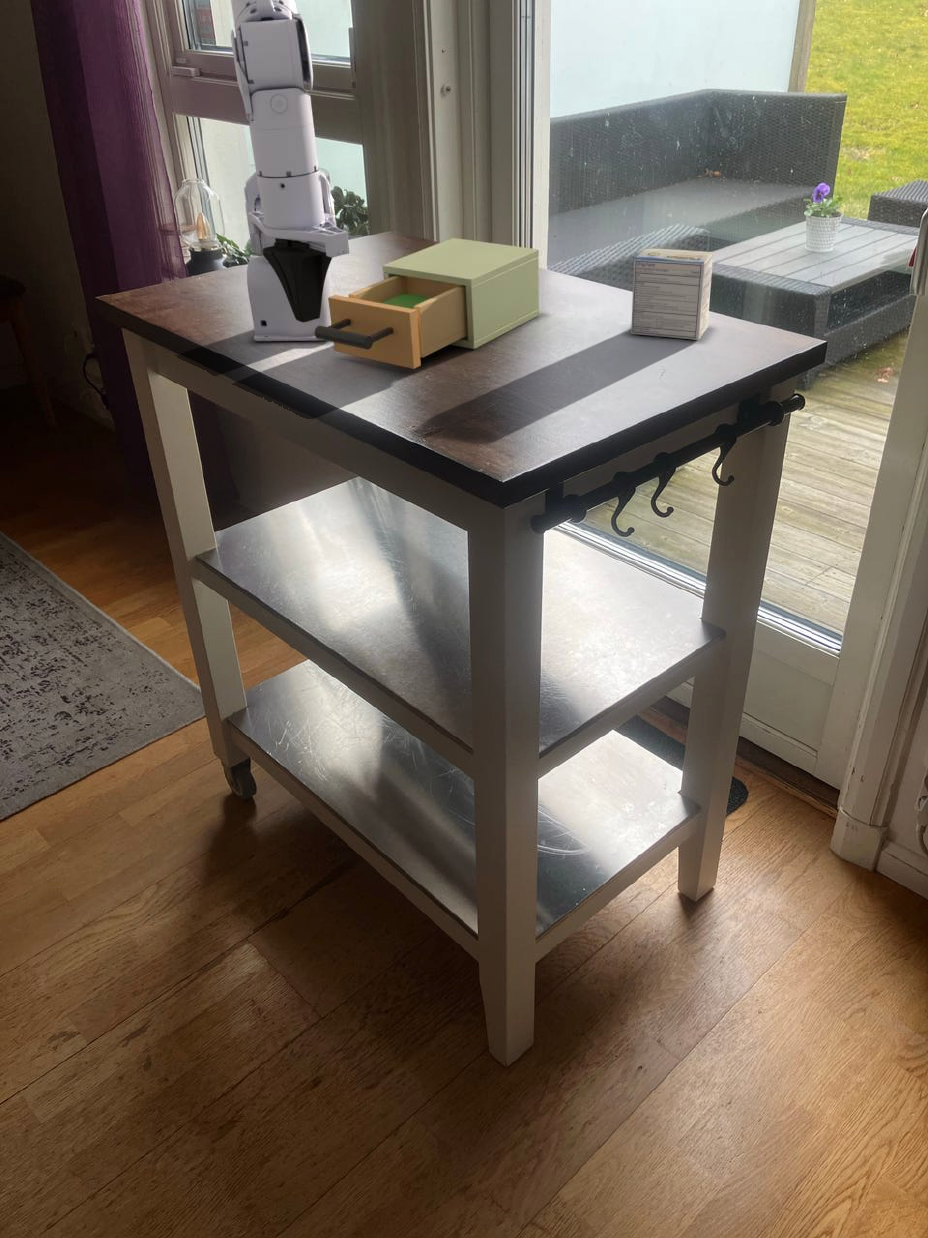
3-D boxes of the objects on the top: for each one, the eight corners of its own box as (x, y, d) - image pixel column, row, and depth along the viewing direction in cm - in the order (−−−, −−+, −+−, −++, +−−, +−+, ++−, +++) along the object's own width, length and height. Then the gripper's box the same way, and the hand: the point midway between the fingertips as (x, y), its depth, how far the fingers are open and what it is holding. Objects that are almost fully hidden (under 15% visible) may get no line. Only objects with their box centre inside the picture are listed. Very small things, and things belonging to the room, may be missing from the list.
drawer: (384, 384, 104) (378, 326, 100) (304, 365, 110) (296, 310, 106) (482, 334, 115) (479, 281, 112) (404, 319, 121) (400, 268, 118)
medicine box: (708, 329, 115) (715, 251, 111) (698, 341, 112) (705, 262, 107) (641, 322, 118) (644, 246, 113) (629, 335, 115) (633, 257, 110)
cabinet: (474, 349, 114) (470, 279, 109) (388, 332, 120) (382, 265, 116) (539, 315, 123) (538, 249, 118) (456, 300, 129) (452, 237, 125)
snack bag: (409, 321, 117) (407, 291, 115) (441, 327, 114) (439, 296, 112) (372, 338, 112) (369, 307, 110) (404, 345, 110) (402, 313, 108)
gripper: (369, 173, 90) (383, 324, 97) (282, 156, 99) (302, 295, 107) (303, 187, 86) (323, 342, 94) (219, 168, 96) (244, 311, 103)
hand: (308, 318), depth 100 cm, fingers closed
